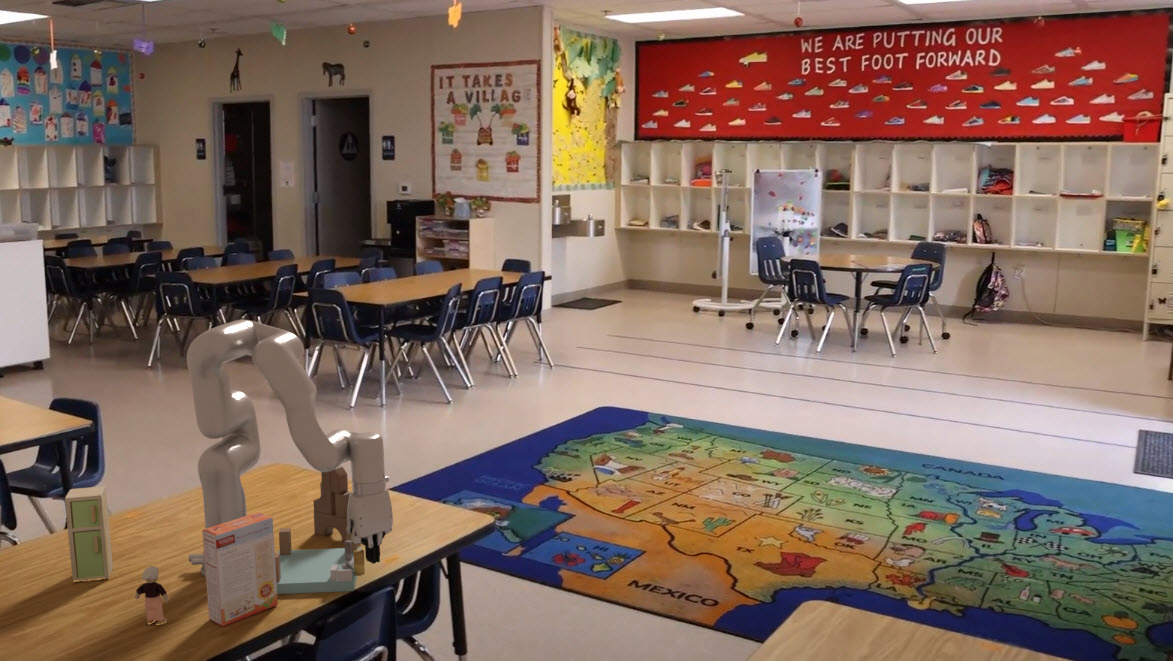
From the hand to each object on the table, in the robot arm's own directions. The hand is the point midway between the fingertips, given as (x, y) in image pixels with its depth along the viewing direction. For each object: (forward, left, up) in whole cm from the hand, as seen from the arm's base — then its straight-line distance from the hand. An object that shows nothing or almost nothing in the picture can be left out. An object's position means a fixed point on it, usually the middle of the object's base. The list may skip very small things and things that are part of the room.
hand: (373, 561), depth 248 cm
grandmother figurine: (-45, -16, -5) cm, 48 cm away
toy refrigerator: (-66, +10, -5) cm, 67 cm away
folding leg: (-5, +1, -2) cm, 5 cm away
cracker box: (-27, -13, -6) cm, 31 cm away
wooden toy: (-11, +32, -6) cm, 34 cm away
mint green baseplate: (-14, +6, -5) cm, 16 cm away
